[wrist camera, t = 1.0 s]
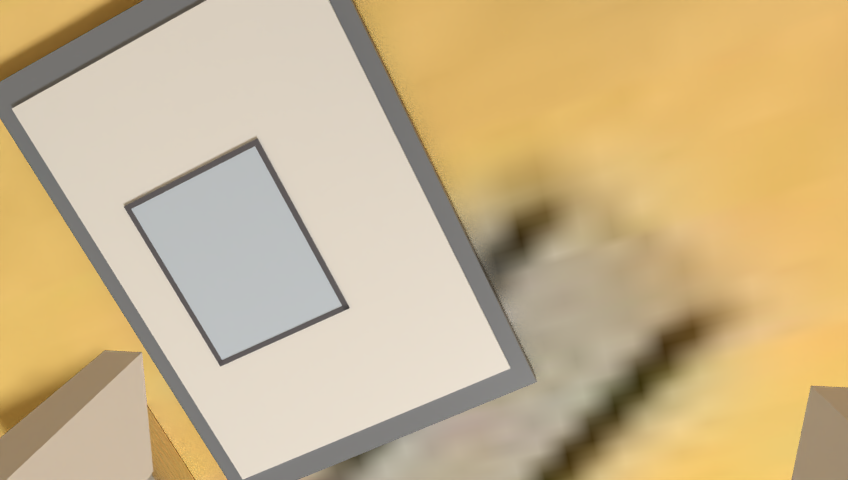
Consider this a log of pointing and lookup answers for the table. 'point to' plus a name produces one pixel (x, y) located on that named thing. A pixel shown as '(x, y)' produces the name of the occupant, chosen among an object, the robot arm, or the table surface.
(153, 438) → the button housing
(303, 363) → the sheet
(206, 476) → the table surface
